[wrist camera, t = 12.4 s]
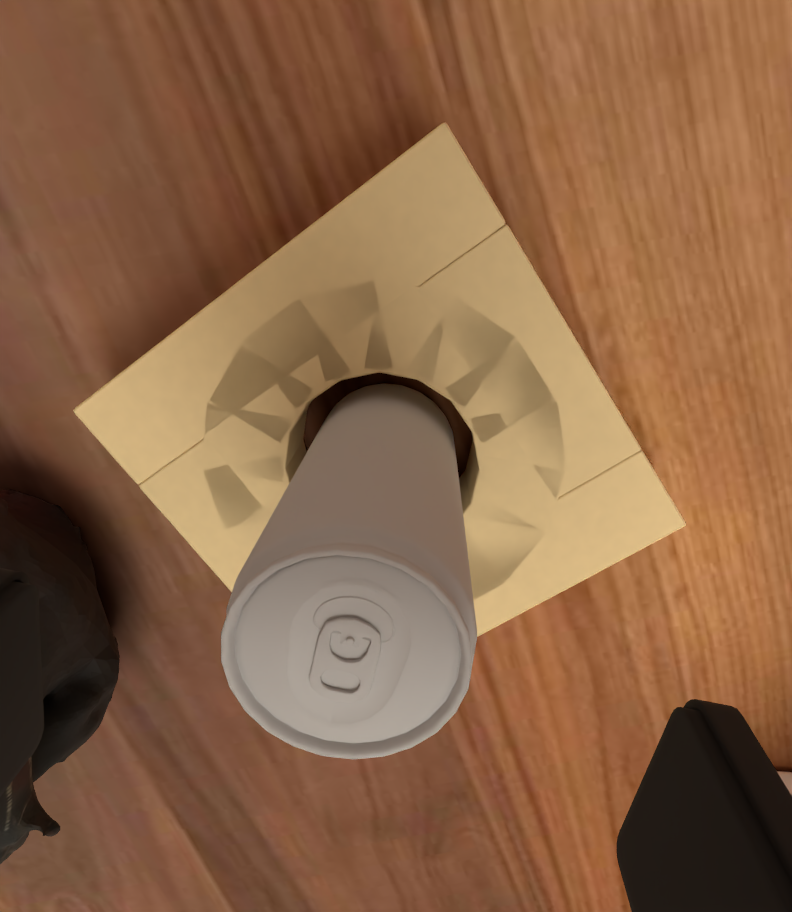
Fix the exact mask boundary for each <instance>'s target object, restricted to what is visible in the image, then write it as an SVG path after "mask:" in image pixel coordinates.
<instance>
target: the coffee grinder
mask: <svg viewBox="0 0 792 912" xmlns="http://www.w3.org/2000/svg"><path fill="white" fill-rule="evenodd" d="M0 568H3V569H9V570H14V571H19V572H23V573H25V574H26V575H27V577H28V578H29V583H30V584H32V585H34V586H36V588H37V589H38V594H39V616H40V639H41V663H42V686H43V710H44V730H43V734H42V737H41V740H40V743H39V745H38V747H37V749H36V750H35V752H34V753H33V755H32V756H31V757H30V759H29V760H28V761H27V762H26V764H25V765H24V766H23V768H22V769H21V770H20V772H19V773H18V774H17V776H16V777H15V778H14V780H13V781H12V782H11V783H10V785H9V786H8V787H7V789H6V790H5V791H4V793H3V794H2V795H1V797H0V864H1V863H2V862H3V861H4V860H6V859H7V858H8V857H9V856H10V855H11V854H12V853H13V852H14V851H15V850H17V849H18V848H19V847H21V846H22V845H23V843H24V842H25V840H26V838H27V837H28V835H29V831H31V830H39V831H41V832H42V833H43V836H45V835H46V836H54V835H56V834H57V833H58V832H59V831H60V826H59V824H58V823H57V822H56V821H54V820H53V819H52V818H51V817H50V816H49V815H48V814H47V813H46V812H45V811H44V809H43V808H42V807H41V805H40V803H39V801H38V800H37V796H36V793H35V790H34V785H33V782H34V781H36V780H37V779H38V778H39V777H40V776H42V775H43V774H44V773H45V772H46V771H47V770H48V769H49V768H50V767H52V766H53V765H54V764H56V763H58V762H63V761H65V759H66V758H67V757H68V756H69V755H71V754H72V753H73V752H74V751H75V750H76V749H78V748H79V747H80V746H81V745H83V744H84V743H85V742H86V741H87V740H88V739H89V738H90V737H91V736H92V734H93V733H94V732H95V731H96V730H97V728H98V727H99V725H100V724H101V722H102V719H103V717H104V714H105V712H106V709H107V706H108V704H109V702H110V700H111V698H112V694H113V691H114V688H115V685H116V683H117V679H118V673H119V652H118V644H117V641H116V638H115V637H114V636H113V633H112V631H111V628H110V626H109V623H108V620H107V617H106V615H105V612H104V609H103V606H102V603H101V600H100V597H99V594H98V591H97V587H96V579H95V572H94V568H93V564H92V561H91V559H90V557H89V555H88V552H87V547H86V544H85V542H84V541H82V540H81V535H80V527H76V526H72V523H71V521H70V519H69V518H68V517H67V515H66V514H65V513H64V511H63V510H62V508H61V507H60V506H58V505H53V504H49V503H46V502H44V501H43V500H41V499H39V498H36V497H33V496H31V495H26V494H23V493H21V492H16V491H13V490H0Z"/></svg>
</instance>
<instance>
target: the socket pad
mask: <svg viewBox="0 0 792 912" xmlns="http://www.w3.org/2000/svg"><path fill="white" fill-rule="evenodd" d="M505 224H506V223H505V220H504V218H503V216H502V215H501V213H500V211H499V210H498V208H497V206H496V205H495V203H494V201H493V200H492V198H491V196H490V195H489V193H488V191H487V190H486V188H485V186H484V185H483V183H482V181H481V180H480V178H479V176H478V175H477V173H476V171H475V170H474V168H473V166H472V165H471V163H470V161H469V159H468V158H467V156H466V154H465V153H464V151H463V149H462V148H461V146H460V144H459V143H458V141H457V139H456V138H455V136H454V134H453V133H452V131H451V129H450V128H449V126H448V124H447V123H445V122H444V123H442V124H440V125H439V126H438V127H437V128H435V129H434V130H433V131H431V132H430V133H429V134H427V135H426V136H425V137H424V138H422V139H421V140H420V141H418V142H417V143H416V144H415V145H413V146H412V147H411V148H409V149H408V150H407V151H406V152H404V153H403V154H402V155H400V156H399V157H398V158H397V159H395V160H394V161H393V162H391V163H390V164H389V165H388V166H386V167H385V168H384V169H382V170H381V171H380V172H379V173H377V174H376V175H375V176H373V177H372V178H371V179H370V180H368V181H367V182H366V183H364V184H363V185H362V186H360V187H359V188H358V189H357V190H355V191H354V192H353V193H351V194H350V195H349V196H348V197H346V198H345V199H344V200H342V201H341V202H340V203H339V204H337V205H336V206H335V207H333V208H332V209H331V210H330V211H328V212H327V213H326V214H324V215H323V216H322V217H321V218H319V219H318V220H317V221H315V222H314V223H313V224H312V225H310V226H309V227H308V228H306V229H305V230H304V231H303V232H301V233H300V234H299V235H297V236H296V237H295V238H294V239H292V240H291V241H290V242H288V243H287V244H286V245H284V246H283V247H282V248H281V249H279V250H278V251H277V252H275V253H274V254H273V255H272V256H270V257H269V258H268V259H266V260H265V261H264V262H263V263H261V264H260V265H259V266H257V267H256V268H255V269H254V270H252V271H251V272H250V273H248V274H247V275H246V276H245V277H243V278H242V279H241V280H239V281H238V282H237V283H236V284H234V285H233V286H232V287H230V288H229V289H228V290H227V291H225V292H224V293H223V294H221V295H220V296H219V297H218V298H216V299H215V300H214V301H212V302H211V303H210V304H208V305H207V306H206V307H205V308H203V309H202V310H201V311H199V312H198V313H197V314H196V315H194V316H193V317H192V318H190V319H189V320H188V321H187V322H185V323H184V324H183V325H181V326H180V327H179V328H178V329H176V330H175V331H174V332H172V333H171V334H170V335H169V336H167V337H166V338H165V339H163V340H162V341H161V342H160V343H158V344H157V345H156V346H154V347H153V348H152V349H151V350H149V351H148V352H147V353H145V354H144V355H143V356H141V357H140V358H139V359H138V360H136V361H135V362H134V363H132V364H131V365H130V366H129V367H127V368H126V369H125V370H123V371H122V372H121V373H120V374H118V375H117V376H116V377H114V378H113V379H112V380H111V381H109V382H108V383H107V384H105V385H104V386H103V387H102V388H100V389H99V390H98V391H96V392H95V393H94V394H93V395H91V396H90V397H89V398H87V399H86V400H85V401H84V402H82V403H81V404H80V405H78V406H77V407H76V408H75V409H74V413H75V414H76V415H77V416H78V418H79V419H80V420H81V421H82V422H83V423H84V424H85V426H86V427H87V428H88V429H89V430H90V431H91V432H92V434H93V435H94V436H95V437H96V438H97V439H98V440H99V442H100V443H101V444H102V445H103V446H104V447H105V448H106V449H107V451H108V452H109V453H110V454H111V455H112V456H113V457H114V459H115V460H116V461H117V462H118V463H119V464H120V465H121V467H122V468H123V469H124V470H125V471H126V472H127V473H128V475H129V476H130V477H131V478H132V479H133V480H134V481H135V482H136V483H137V484H140V485H139V487H140V489H141V490H142V491H143V492H144V493H145V494H146V495H147V497H148V498H149V499H150V500H151V501H152V502H153V503H154V505H155V506H156V507H157V508H158V509H159V510H160V511H161V512H162V514H163V515H164V516H165V517H166V518H167V519H168V520H169V522H170V523H171V524H172V525H173V526H174V527H175V528H176V530H177V531H178V532H179V533H180V534H181V535H182V536H183V537H184V539H185V540H186V541H187V542H188V543H189V544H190V545H191V547H192V548H193V549H194V550H195V551H196V552H197V553H198V555H199V556H200V557H201V558H202V559H203V560H204V561H205V563H206V564H207V565H208V566H209V567H210V568H211V569H212V570H213V572H214V573H215V574H216V575H217V576H218V577H219V578H220V580H221V581H222V582H223V583H224V584H225V585H226V586H227V588H228V589H229V590H230V591H231V592H232V590H233V587H234V584H235V581H236V579H237V577H238V575H239V573H240V571H241V569H242V568H243V566H244V564H245V562H246V560H247V559H248V557H249V555H250V553H251V551H252V550H253V548H254V546H255V544H256V542H257V541H258V539H259V537H260V535H261V534H262V532H263V530H264V528H265V526H266V525H267V523H268V521H269V519H270V517H271V516H272V514H273V512H274V510H275V508H276V507H277V505H278V503H279V501H280V499H281V498H282V496H283V494H284V492H285V491H286V489H287V487H288V485H289V483H290V482H291V480H292V478H293V476H294V474H295V473H296V471H297V469H298V467H299V465H300V464H301V462H302V460H303V458H304V456H305V455H306V453H307V451H306V447H305V443H304V440H303V439H304V431H305V424H306V416H307V409H308V407H309V405H310V403H311V402H312V400H313V399H314V398H316V397H317V396H319V395H320V394H321V393H323V392H324V391H326V390H327V389H329V388H330V387H332V386H333V385H335V384H336V383H337V382H339V381H340V380H345V379H349V378H354V377H359V376H364V375H369V374H374V373H384V374H390V375H395V376H400V377H406V378H411V379H416V380H419V381H420V382H422V383H424V384H425V385H427V386H428V387H430V388H431V389H433V390H434V391H436V392H437V393H439V394H441V395H442V396H444V397H445V398H447V399H448V400H450V401H451V402H452V404H453V405H454V406H455V408H456V409H457V411H458V412H459V414H460V415H461V417H462V418H463V420H464V421H465V423H466V424H467V426H468V427H469V428H470V430H471V432H472V438H473V441H472V445H471V449H470V453H469V457H468V462H467V466H466V470H465V471H464V473H463V474H462V475H461V477H460V478H459V484H460V493H461V501H462V509H463V518H464V526H465V534H466V542H467V551H468V559H469V567H470V576H471V584H472V592H473V601H474V609H475V617H476V625H477V637H478V636H480V635H482V634H483V633H485V632H487V631H489V630H491V629H493V628H495V627H497V626H498V625H500V624H502V623H504V622H506V621H508V620H510V619H512V618H513V617H515V616H517V615H519V614H521V613H523V612H525V611H527V610H528V609H530V608H532V607H534V606H536V605H538V604H540V603H542V602H544V601H545V600H547V599H549V598H551V597H553V596H555V595H557V594H559V593H560V592H562V591H564V590H566V589H568V588H570V587H572V586H574V585H575V584H577V583H579V582H581V581H583V580H585V579H587V578H589V577H590V576H592V575H594V574H596V573H598V572H600V571H602V570H604V569H606V568H607V567H609V566H611V565H613V564H615V563H617V562H619V561H621V560H622V559H624V558H626V557H628V556H630V555H632V554H634V553H636V552H637V551H639V550H641V549H643V548H645V547H647V546H649V545H651V544H652V543H654V542H656V541H658V540H660V539H662V538H664V537H666V536H667V535H669V534H671V533H673V532H675V531H677V530H679V529H681V528H683V527H684V526H686V522H685V520H684V519H683V517H682V515H681V514H680V512H679V510H678V509H677V507H676V505H675V504H674V502H673V500H672V499H671V497H670V495H669V494H668V492H667V490H666V489H665V487H664V485H663V484H662V482H661V480H660V479H659V477H658V475H657V474H656V472H655V470H654V469H653V467H652V465H651V464H650V462H649V460H648V459H647V457H646V455H645V454H644V452H643V451H642V450H641V447H640V445H639V443H638V442H637V440H636V438H635V437H634V435H633V433H632V432H631V430H630V428H629V427H628V425H627V423H626V422H625V420H624V418H623V417H622V415H621V413H620V412H619V410H618V408H617V407H616V405H615V403H614V402H613V400H612V398H611V397H610V395H609V393H608V392H607V390H606V388H605V387H604V385H603V383H602V382H601V380H600V378H599V377H598V375H597V373H596V372H595V370H594V368H593V367H592V365H591V363H590V362H589V360H588V358H587V357H586V355H585V353H584V352H583V350H582V348H581V346H580V345H579V343H578V341H577V340H576V338H575V336H574V335H573V333H572V331H571V330H570V328H569V326H568V325H567V323H566V321H565V320H564V318H563V316H562V315H561V313H560V311H559V310H558V308H557V306H556V305H555V303H554V301H553V300H552V298H551V296H550V295H549V293H548V291H547V290H546V288H545V286H544V285H543V283H542V281H541V280H540V278H539V276H538V275H537V273H536V271H535V270H534V268H533V266H532V265H531V263H530V261H529V260H528V258H527V256H526V255H525V253H524V251H523V250H522V248H521V246H520V245H519V243H518V241H517V240H516V238H515V236H514V234H513V233H512V231H511V229H510V228H509V226H508V225H505Z"/></svg>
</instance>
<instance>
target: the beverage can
mask: <svg viewBox="0 0 792 912" xmlns="http://www.w3.org/2000/svg"><path fill="white" fill-rule="evenodd" d="M476 640H477V625H476V617H475V609H474V601H473V592H472V584H471V576H470V567H469V559H468V551H467V542H466V534H465V526H464V518H463V509H462V501H461V493H460V484H459V476H458V468H457V459H456V451H455V444H454V437H453V431H452V429H451V427H450V425H449V422H448V420H447V418H446V416H445V415H444V413H443V412H442V411H441V410H440V409H439V407H438V406H437V405H436V404H435V403H434V402H433V401H432V400H430V399H429V398H428V397H426V396H425V395H423V394H422V393H420V392H419V391H416V390H413V389H411V388H408V387H405V386H403V385H395V384H385V383H383V384H376V385H370V386H365V387H363V388H360V389H358V390H356V391H354V392H351V393H349V394H348V395H347V396H345V397H344V398H343V399H342V400H340V401H339V402H338V403H337V404H336V405H335V406H334V407H333V409H332V410H331V412H330V413H329V415H328V416H327V417H326V419H325V421H324V422H323V424H322V426H321V428H320V430H319V431H318V433H317V435H316V437H315V439H314V440H313V442H312V444H311V446H310V448H309V449H308V451H307V453H306V455H305V456H304V458H303V460H302V462H301V464H300V465H299V467H298V469H297V471H296V473H295V474H294V476H293V478H292V480H291V482H290V483H289V485H288V487H287V489H286V491H285V492H284V494H283V496H282V498H281V499H280V501H279V503H278V505H277V507H276V508H275V510H274V512H273V514H272V516H271V517H270V519H269V521H268V523H267V525H266V526H265V528H264V530H263V532H262V534H261V535H260V537H259V539H258V541H257V542H256V544H255V546H254V548H253V550H252V551H251V553H250V555H249V557H248V559H247V560H246V562H245V564H244V566H243V568H242V569H241V571H240V573H239V575H238V577H237V579H236V581H235V584H234V587H233V590H232V593H231V597H230V600H229V603H228V606H227V616H226V620H225V623H224V626H223V629H222V632H221V662H222V665H223V668H224V671H225V674H226V677H227V681H228V684H229V687H230V689H231V690H232V692H233V693H234V695H235V696H236V698H237V699H238V701H239V702H240V704H241V705H242V707H243V708H244V710H245V711H246V712H247V713H248V714H249V715H250V716H251V717H252V718H253V719H254V720H255V721H256V722H257V723H259V724H260V725H261V726H262V727H263V728H264V729H265V730H266V731H267V732H269V733H271V734H273V735H274V736H276V737H278V738H280V739H281V740H283V741H285V742H287V743H288V744H290V745H292V746H294V747H297V748H300V749H303V750H306V751H309V752H312V753H315V754H318V755H321V756H328V757H337V758H346V759H362V758H373V757H384V756H387V755H390V754H393V753H396V752H399V751H403V750H406V749H409V748H412V747H414V746H415V745H417V744H419V743H420V742H422V741H424V740H425V739H427V738H429V737H430V736H432V735H434V734H435V733H437V732H438V731H439V730H440V729H441V727H442V726H443V725H444V724H445V723H446V722H447V721H448V720H449V719H450V718H451V717H452V716H453V715H454V714H455V713H456V711H457V709H458V707H459V705H460V704H461V702H462V700H463V698H464V696H465V694H466V692H467V690H468V688H469V682H470V676H471V670H472V664H473V658H474V652H475V646H476Z"/></svg>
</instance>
